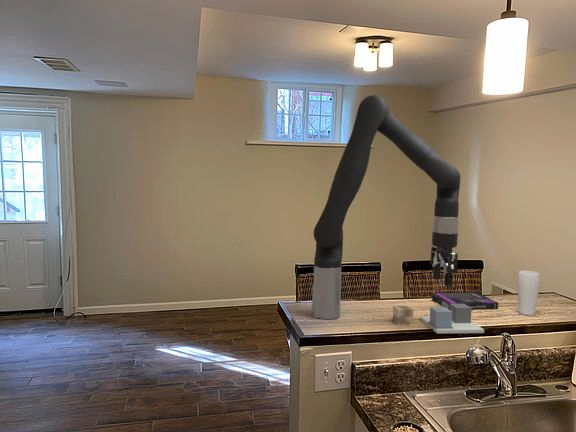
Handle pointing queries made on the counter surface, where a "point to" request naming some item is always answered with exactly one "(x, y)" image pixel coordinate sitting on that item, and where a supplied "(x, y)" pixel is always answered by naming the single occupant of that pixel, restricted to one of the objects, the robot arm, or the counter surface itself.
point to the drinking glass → (528, 292)
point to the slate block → (441, 317)
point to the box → (465, 300)
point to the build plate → (457, 327)
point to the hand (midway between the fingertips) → (442, 282)
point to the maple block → (403, 315)
